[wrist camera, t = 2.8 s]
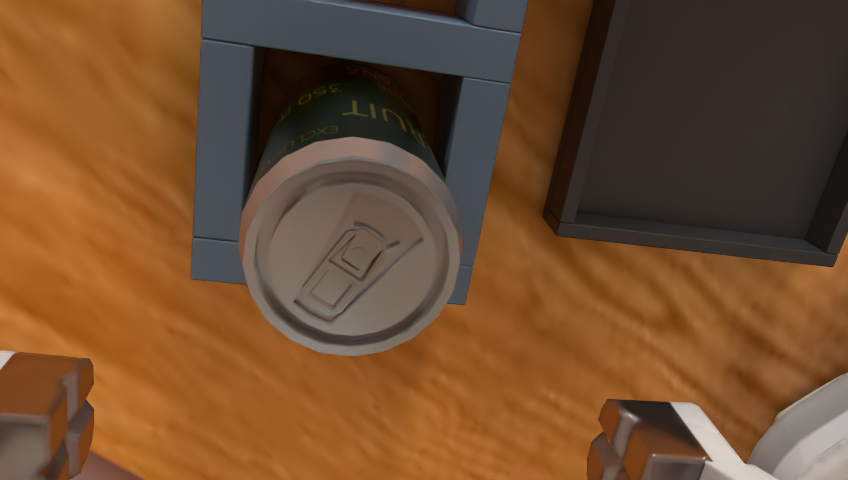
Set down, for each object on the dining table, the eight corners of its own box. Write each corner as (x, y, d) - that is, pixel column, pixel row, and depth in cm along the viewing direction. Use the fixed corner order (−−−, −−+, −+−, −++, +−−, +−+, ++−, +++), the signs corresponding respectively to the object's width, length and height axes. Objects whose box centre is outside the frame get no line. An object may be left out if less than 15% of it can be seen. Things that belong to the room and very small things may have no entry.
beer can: (362, 223, 28) (376, 400, 18) (248, 146, 27) (184, 288, 16) (445, 118, 27) (517, 239, 16) (331, 30, 25) (325, 97, 14)
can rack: (238, -309, 21) (217, -361, 18) (546, -239, 23) (585, -273, 19) (209, 235, 28) (190, 280, 24) (449, 260, 30) (465, 305, 26)
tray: (642, -203, 24) (669, -215, 22) (953, -132, 26) (1003, -138, 24) (541, 217, 29) (555, 236, 27) (803, 247, 31) (833, 267, 29)
